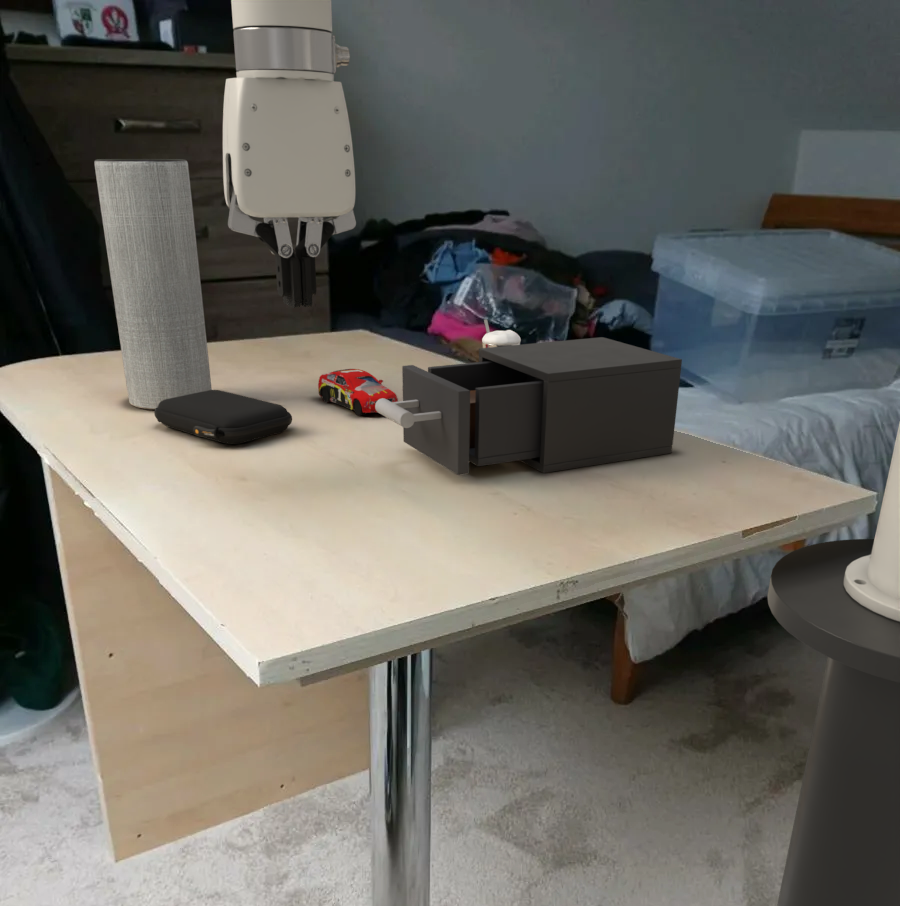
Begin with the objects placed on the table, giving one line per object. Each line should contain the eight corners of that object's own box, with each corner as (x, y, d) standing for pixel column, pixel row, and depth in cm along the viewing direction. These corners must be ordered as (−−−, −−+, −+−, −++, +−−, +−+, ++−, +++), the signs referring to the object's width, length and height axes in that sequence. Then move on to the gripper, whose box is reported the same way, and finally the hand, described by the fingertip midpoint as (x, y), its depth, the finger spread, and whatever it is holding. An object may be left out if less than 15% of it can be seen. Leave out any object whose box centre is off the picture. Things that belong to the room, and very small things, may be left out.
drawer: (415, 481, 86) (414, 396, 82) (364, 447, 96) (361, 369, 92) (587, 455, 93) (593, 376, 90) (523, 425, 103) (526, 353, 100)
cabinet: (543, 473, 91) (548, 373, 87) (477, 438, 102) (478, 348, 98) (671, 453, 97) (682, 359, 93) (596, 422, 108) (602, 337, 104)
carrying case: (139, 428, 105) (222, 453, 96) (136, 401, 104) (219, 424, 95) (217, 410, 112) (301, 432, 104) (214, 384, 111) (299, 404, 102)
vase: (223, 404, 115) (198, 160, 103) (139, 414, 110) (103, 160, 99) (199, 388, 123) (174, 159, 111) (121, 397, 118) (85, 159, 106)
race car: (405, 414, 111) (405, 380, 110) (365, 420, 109) (364, 386, 107) (351, 392, 121) (350, 360, 119) (313, 397, 118) (311, 365, 117)
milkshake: (498, 400, 118) (500, 317, 113) (525, 408, 114) (529, 323, 110) (469, 405, 115) (470, 321, 111) (496, 414, 111) (499, 327, 107)
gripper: (356, 67, 79) (362, 295, 87) (176, 58, 73) (200, 303, 81) (392, 62, 73) (394, 306, 81) (199, 51, 67) (222, 317, 75)
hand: (297, 304), depth 81 cm, fingers closed
